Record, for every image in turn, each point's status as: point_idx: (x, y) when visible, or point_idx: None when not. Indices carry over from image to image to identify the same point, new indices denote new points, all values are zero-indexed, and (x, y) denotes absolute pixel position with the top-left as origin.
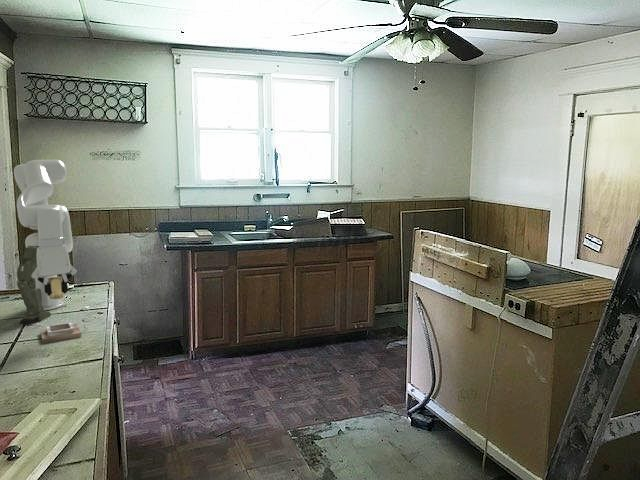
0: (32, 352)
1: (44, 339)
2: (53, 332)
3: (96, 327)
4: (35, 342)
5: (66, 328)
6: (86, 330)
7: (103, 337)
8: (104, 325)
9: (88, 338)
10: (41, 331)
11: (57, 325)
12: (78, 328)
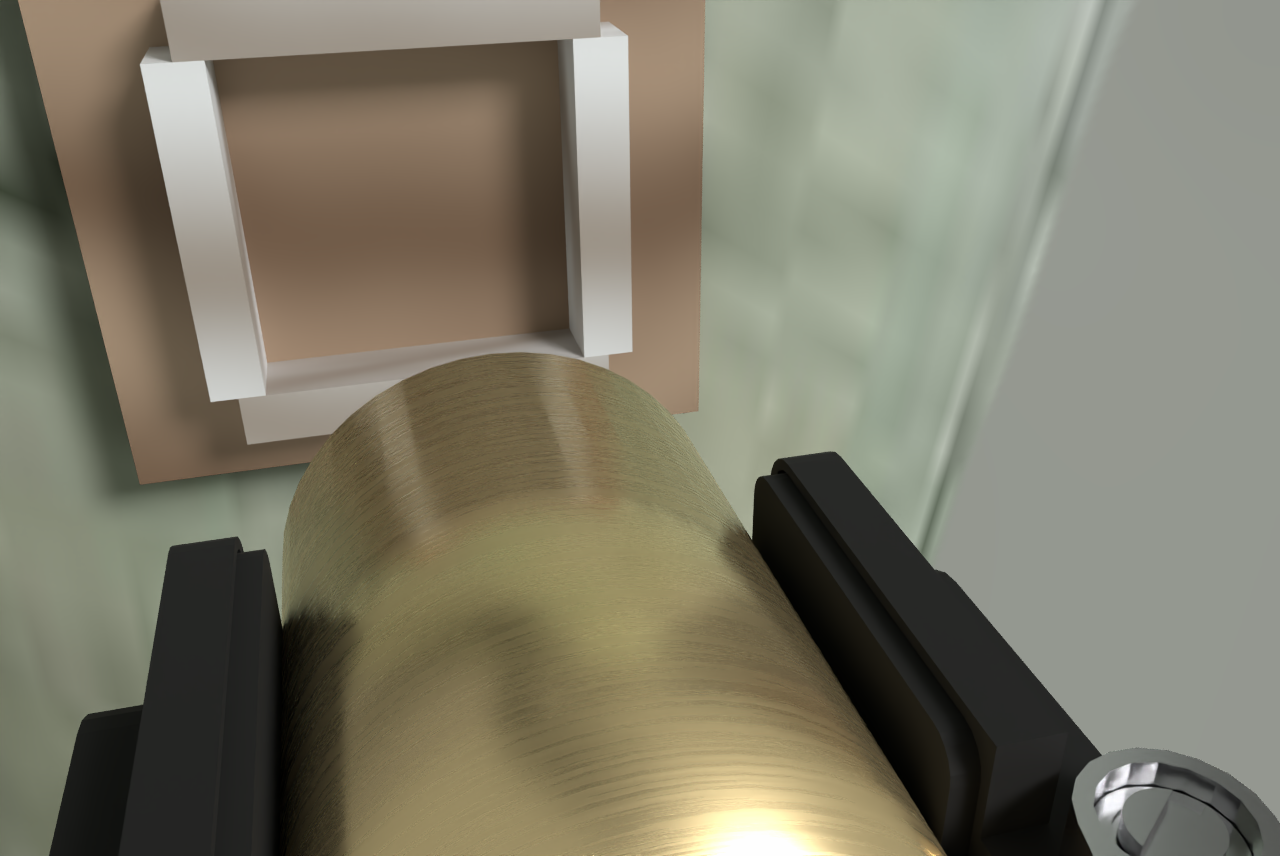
0: (50, 719)
1: (168, 477)
2: (307, 432)
3: (950, 43)
4: (7, 346)
5: (510, 83)
6: (790, 122)
7: (906, 521)
8: (1073, 2)
9: (748, 486)
10: (41, 24)
11: (362, 49)
12: (694, 191)
